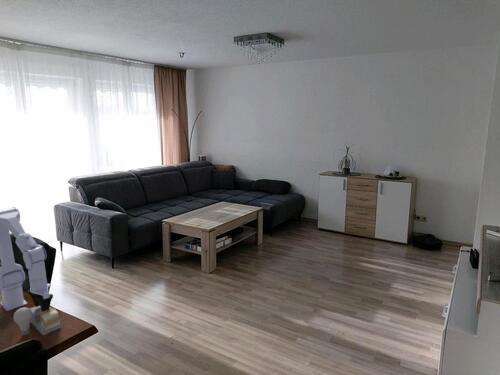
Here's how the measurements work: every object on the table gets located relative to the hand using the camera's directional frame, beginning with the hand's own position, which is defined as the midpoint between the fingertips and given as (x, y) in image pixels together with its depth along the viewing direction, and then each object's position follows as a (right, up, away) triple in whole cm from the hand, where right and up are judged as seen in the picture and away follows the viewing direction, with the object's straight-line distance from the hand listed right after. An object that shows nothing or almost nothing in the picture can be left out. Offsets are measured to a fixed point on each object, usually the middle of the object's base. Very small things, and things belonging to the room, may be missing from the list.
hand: (42, 309), depth 144 cm
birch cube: (+3, -2, -3) cm, 5 cm away
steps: (+1, -6, +1) cm, 6 cm away
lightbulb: (-3, -8, -6) cm, 10 cm away
